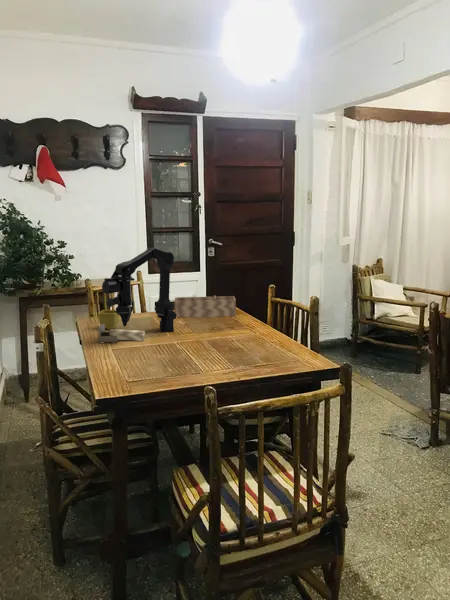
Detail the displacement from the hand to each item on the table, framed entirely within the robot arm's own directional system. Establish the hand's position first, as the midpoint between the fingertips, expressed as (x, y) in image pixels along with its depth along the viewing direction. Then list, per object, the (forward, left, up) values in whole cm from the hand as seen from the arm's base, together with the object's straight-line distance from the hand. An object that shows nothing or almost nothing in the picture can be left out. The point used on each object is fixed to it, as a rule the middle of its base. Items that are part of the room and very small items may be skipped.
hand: (126, 324), depth 229 cm
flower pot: (+12, -24, -8) cm, 28 cm away
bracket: (+7, 0, -8) cm, 11 cm away
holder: (-38, -53, -8) cm, 66 cm away
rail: (0, 0, -7) cm, 7 cm away
